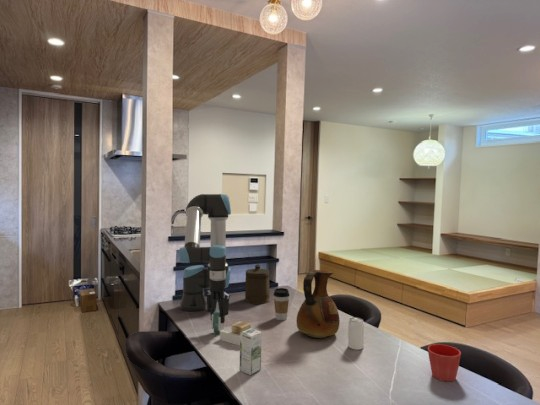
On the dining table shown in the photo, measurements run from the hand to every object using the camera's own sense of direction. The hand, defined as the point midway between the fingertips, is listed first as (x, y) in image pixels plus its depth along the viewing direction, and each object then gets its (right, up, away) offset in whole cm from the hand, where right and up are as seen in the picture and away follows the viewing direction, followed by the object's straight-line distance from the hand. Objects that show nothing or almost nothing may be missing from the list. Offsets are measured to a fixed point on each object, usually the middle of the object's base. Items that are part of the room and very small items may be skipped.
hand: (217, 328), depth 169 cm
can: (+61, -3, -14) cm, 63 cm away
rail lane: (+11, -2, -7) cm, 13 cm away
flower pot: (+87, -4, -39) cm, 95 cm away
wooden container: (+17, -1, +52) cm, 55 cm away
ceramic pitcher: (+47, -3, 0) cm, 47 cm away
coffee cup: (+30, -2, +21) cm, 37 cm away
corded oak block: (+6, -2, -4) cm, 8 cm away
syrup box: (+17, -3, -35) cm, 40 cm away
